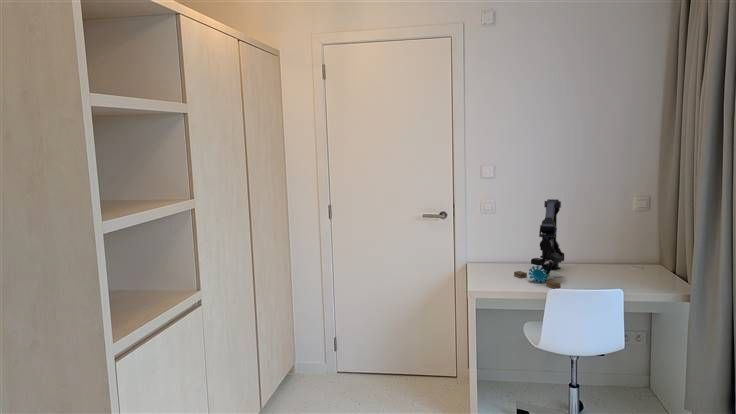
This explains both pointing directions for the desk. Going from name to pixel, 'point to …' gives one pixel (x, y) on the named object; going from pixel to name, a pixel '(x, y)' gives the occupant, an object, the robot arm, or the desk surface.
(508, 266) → the desk surface
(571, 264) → the desk surface
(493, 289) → the desk surface
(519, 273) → the joist marks
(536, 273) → the gear
